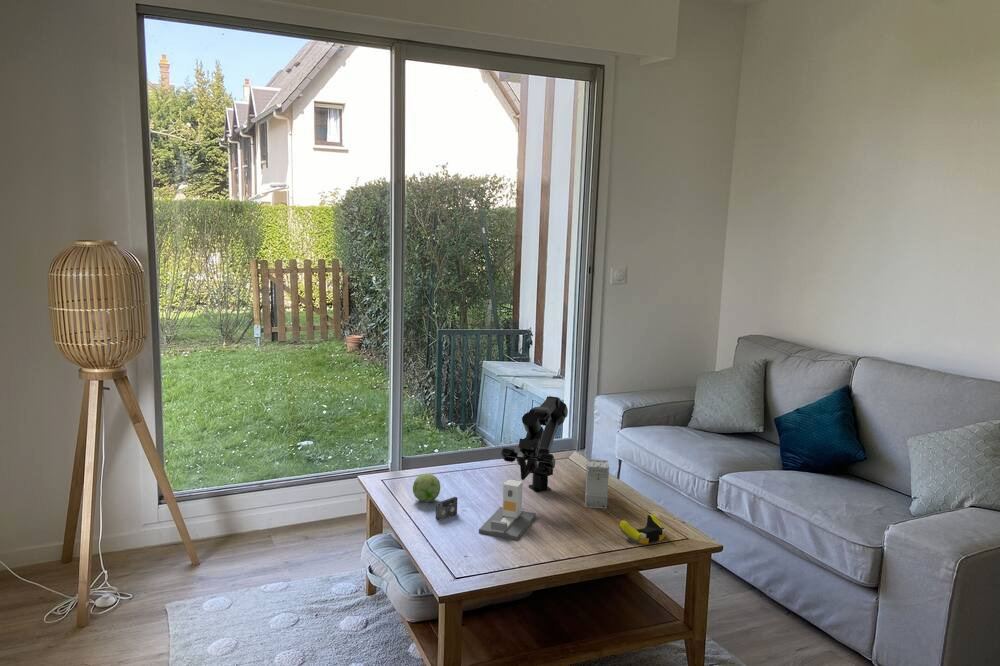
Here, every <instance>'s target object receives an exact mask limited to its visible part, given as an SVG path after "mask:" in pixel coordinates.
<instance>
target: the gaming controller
mask: <svg viewBox="0 0 1000 666" xmlns="http://www.w3.org/2000/svg"><path fill="white" fill-rule="evenodd" d="M619 530H620V531H621V533H622V534H623V535H624V536H626V537H627V538H628V539H630V540H632V541H634V542H635V544H638V543H642V544H643V545H644V544H645V545H649V544H651V543H656V542H659V541H662V540H664V538H665V537H666V531H667V530H666V527H663V525H662V523H661V522H660V520H659V519H658V517H657V516H656V514H653V513H651V514H647V517H646V526H645V527H642V528H638V529H635V528H634V527H633V526H632V525H630V524H629V523H628V521H626V520H624V519H623V520H621V521H620V523H619Z"/></svg>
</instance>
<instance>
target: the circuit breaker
mask: <svg viewBox="0 0 1000 666" xmlns="http://www.w3.org/2000/svg"><path fill="white" fill-rule="evenodd" d="M609 465H610V464H609V460H607V459H593V458H591V459H590V458H587V459H586V467H585V468H586V469H585V484H584V485H585V494H584V502H585V504H584V507H585V508H592V509H593V508H597V509H607V508H608V507H607V506H608V491H609V489H608V488H609V478H610V466H609ZM603 506H604V507H603Z"/></svg>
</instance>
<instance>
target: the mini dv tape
mask: <svg viewBox="0 0 1000 666" xmlns="http://www.w3.org/2000/svg"><path fill="white" fill-rule="evenodd" d="M455 514H456V515H457V514H458V497H457V496H453V497H450V498H447V499H444V500H442V501H438V502H436V504H435V520H436V519H437V521H438V520H439V521H441V519H442V520H444V518H445V519H447V518H450V517H453V516H455ZM452 515H453V516H452ZM449 516H450V517H449Z"/></svg>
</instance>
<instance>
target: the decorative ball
mask: <svg viewBox="0 0 1000 666" xmlns="http://www.w3.org/2000/svg"><path fill="white" fill-rule="evenodd" d="M440 482H441V481H440V480H439V479H438V477H437V476H435V475H434V474H431V473H422V474H420V475H418V476H417V477H416V478H415V479H414V481H413V484H412V493H413V495H414V497H415V498H416V499H417V500H418V501H420V502H423V503H431V502H433V501H434V500H436V499H437V498H438V497H439V495H440V491H441V483H440Z"/></svg>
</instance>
